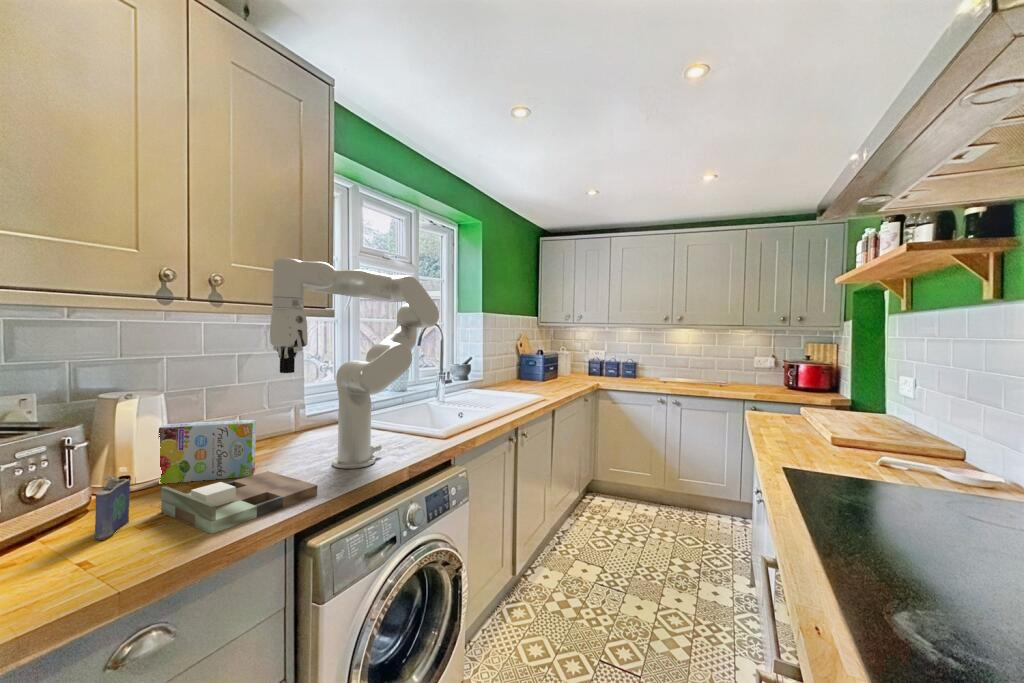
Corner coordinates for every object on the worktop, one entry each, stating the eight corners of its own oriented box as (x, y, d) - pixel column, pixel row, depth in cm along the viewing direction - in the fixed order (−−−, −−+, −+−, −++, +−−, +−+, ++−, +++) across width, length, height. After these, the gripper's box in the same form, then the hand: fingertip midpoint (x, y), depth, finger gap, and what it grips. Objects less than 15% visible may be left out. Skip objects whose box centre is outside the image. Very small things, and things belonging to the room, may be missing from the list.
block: (220, 494, 98) (220, 481, 98) (235, 500, 95) (235, 486, 95) (190, 503, 92) (191, 489, 92) (206, 509, 90) (206, 495, 90)
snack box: (255, 471, 122) (256, 418, 122) (251, 477, 117) (252, 422, 117) (165, 478, 114) (165, 422, 114) (156, 485, 109) (157, 427, 109)
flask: (108, 540, 81) (108, 484, 81) (88, 542, 80) (88, 485, 80) (132, 520, 90) (132, 469, 89) (114, 521, 89) (115, 470, 88)
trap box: (267, 480, 115) (268, 460, 115) (317, 495, 105) (317, 473, 105) (161, 512, 94) (161, 487, 94) (211, 534, 84) (211, 506, 84)
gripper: (318, 305, 115) (317, 373, 115) (283, 306, 122) (282, 370, 122) (293, 303, 108) (291, 375, 109) (257, 304, 115) (256, 371, 116)
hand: (287, 372), depth 116 cm, fingers closed
